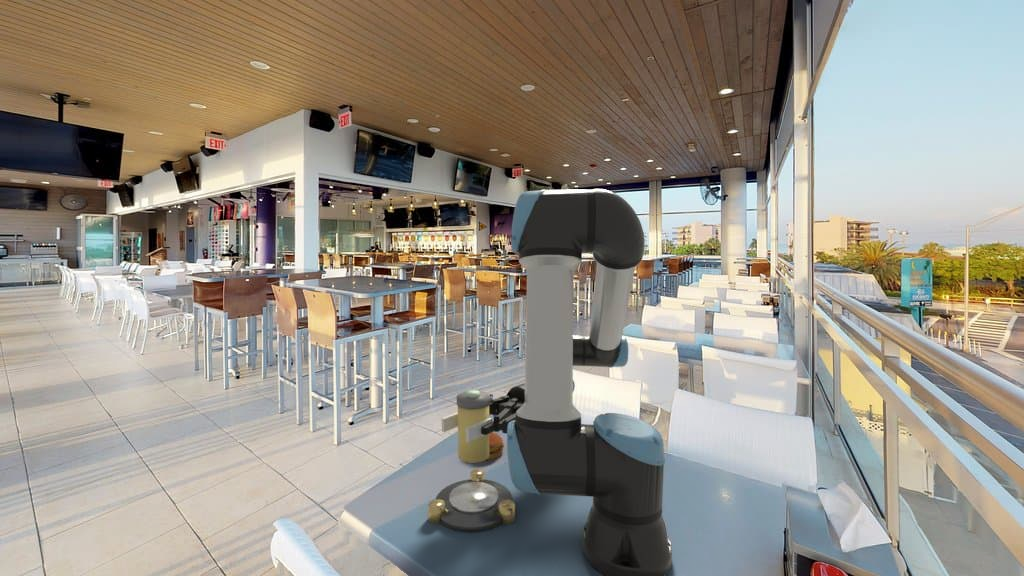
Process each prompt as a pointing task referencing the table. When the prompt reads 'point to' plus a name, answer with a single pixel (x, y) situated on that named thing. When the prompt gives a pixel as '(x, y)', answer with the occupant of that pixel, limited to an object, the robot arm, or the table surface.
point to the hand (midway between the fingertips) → (454, 430)
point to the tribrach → (473, 504)
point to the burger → (495, 446)
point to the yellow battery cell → (469, 413)
